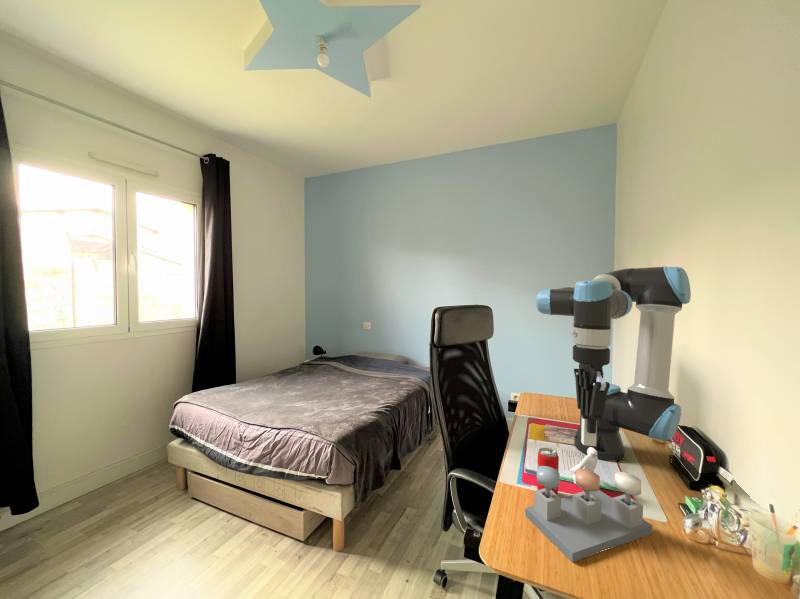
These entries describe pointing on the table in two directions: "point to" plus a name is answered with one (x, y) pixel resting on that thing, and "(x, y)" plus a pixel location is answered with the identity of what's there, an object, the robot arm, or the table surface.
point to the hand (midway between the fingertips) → (588, 444)
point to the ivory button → (628, 485)
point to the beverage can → (548, 463)
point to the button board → (587, 522)
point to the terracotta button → (587, 482)
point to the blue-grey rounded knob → (548, 478)
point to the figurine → (587, 462)
